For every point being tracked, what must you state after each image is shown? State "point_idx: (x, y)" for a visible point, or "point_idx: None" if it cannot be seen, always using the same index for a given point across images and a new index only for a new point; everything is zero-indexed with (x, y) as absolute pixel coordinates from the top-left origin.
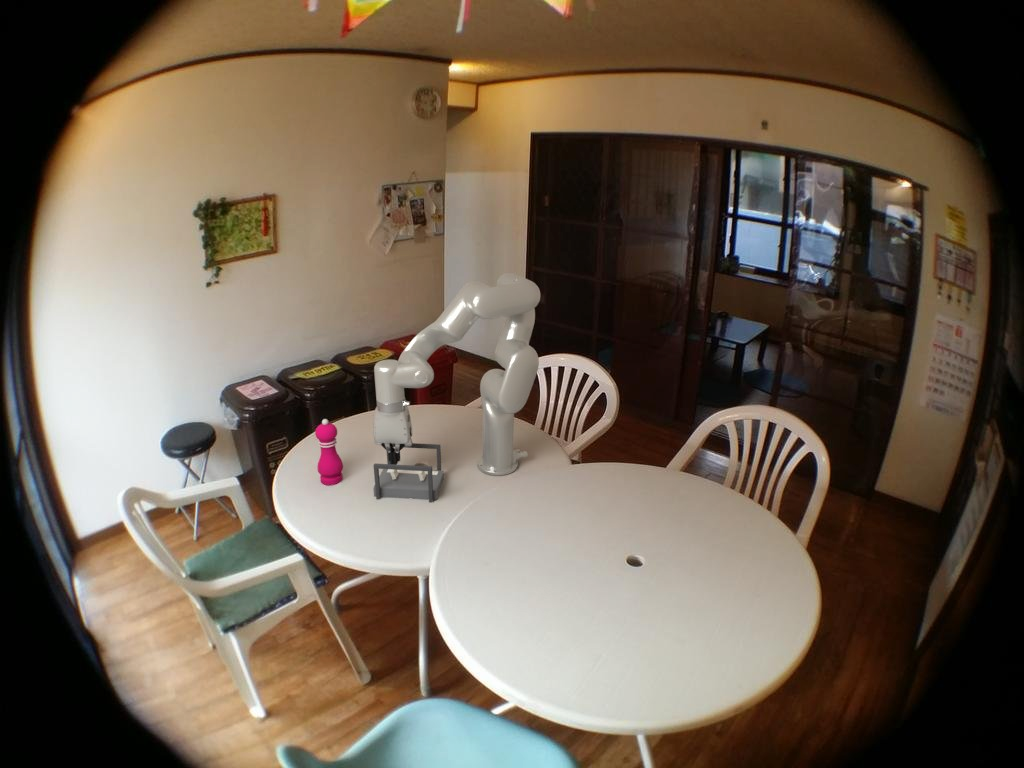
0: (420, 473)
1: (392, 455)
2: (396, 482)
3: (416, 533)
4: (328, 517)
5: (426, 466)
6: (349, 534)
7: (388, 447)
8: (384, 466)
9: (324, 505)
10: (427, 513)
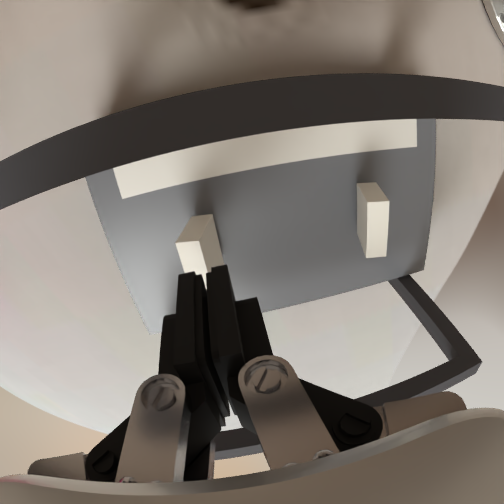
0: (380, 256)
1: (228, 403)
2: (232, 271)
3: (359, 380)
4: (107, 402)
5: (461, 375)
6: None
7: (199, 475)
8: (233, 453)
9: (54, 370)
10: (378, 317)
